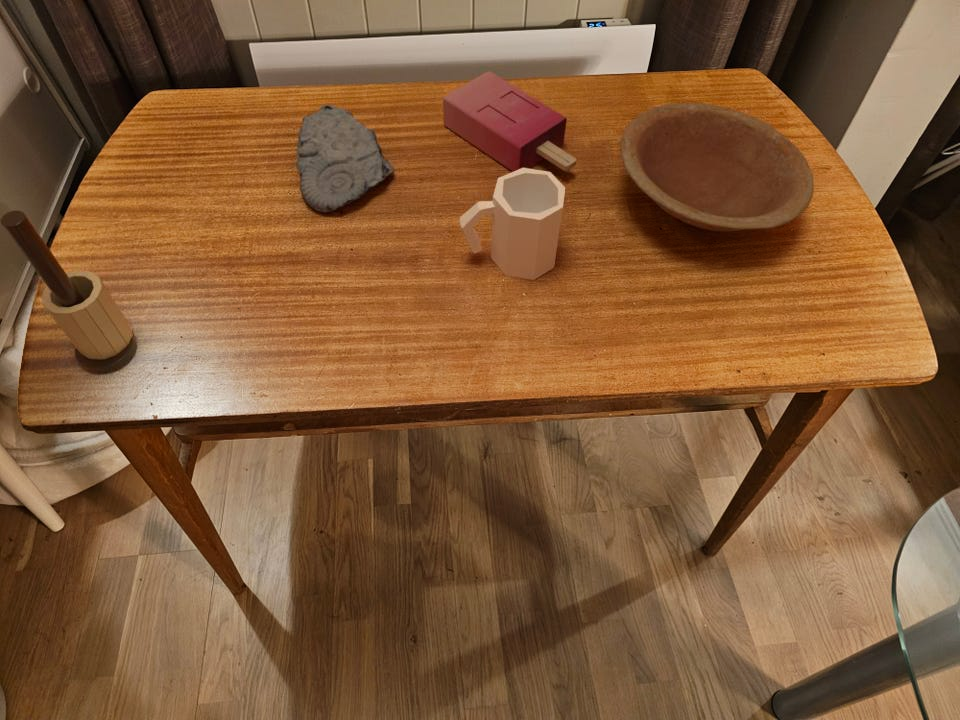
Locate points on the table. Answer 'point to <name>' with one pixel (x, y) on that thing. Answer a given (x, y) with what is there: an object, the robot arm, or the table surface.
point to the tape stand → (58, 284)
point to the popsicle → (506, 123)
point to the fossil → (337, 159)
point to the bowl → (716, 167)
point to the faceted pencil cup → (91, 318)
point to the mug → (521, 222)
